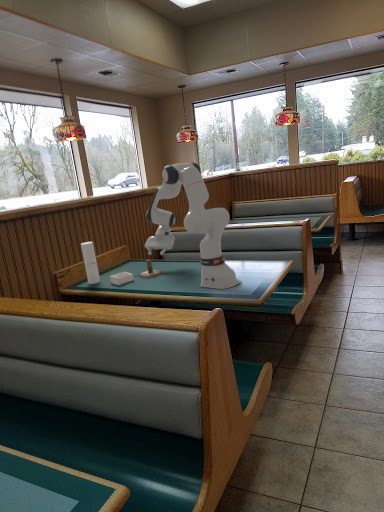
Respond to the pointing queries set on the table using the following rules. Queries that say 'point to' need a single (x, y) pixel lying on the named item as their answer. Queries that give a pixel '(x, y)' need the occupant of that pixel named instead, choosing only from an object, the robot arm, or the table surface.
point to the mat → (150, 277)
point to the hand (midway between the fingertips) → (155, 254)
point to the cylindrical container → (90, 262)
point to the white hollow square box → (121, 278)
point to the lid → (150, 270)
